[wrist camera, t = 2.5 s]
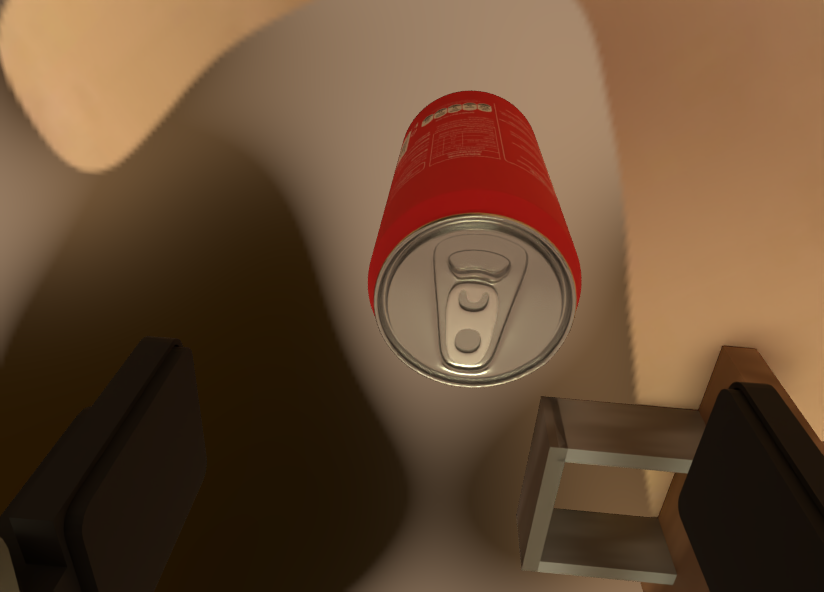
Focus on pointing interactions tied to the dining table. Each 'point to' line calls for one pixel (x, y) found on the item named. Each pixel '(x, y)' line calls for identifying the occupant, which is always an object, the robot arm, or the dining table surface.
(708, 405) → the can rack
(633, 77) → the dining table surface
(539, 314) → the beverage can
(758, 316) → the dining table surface
